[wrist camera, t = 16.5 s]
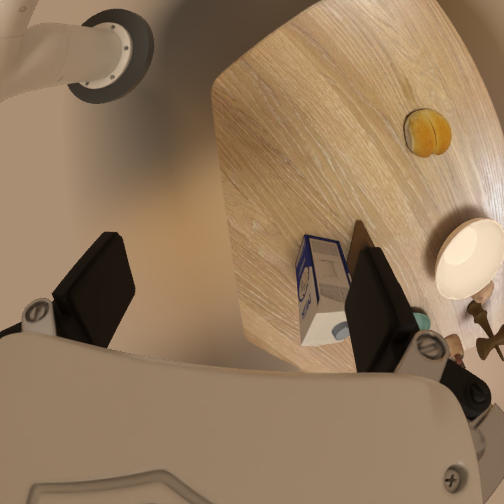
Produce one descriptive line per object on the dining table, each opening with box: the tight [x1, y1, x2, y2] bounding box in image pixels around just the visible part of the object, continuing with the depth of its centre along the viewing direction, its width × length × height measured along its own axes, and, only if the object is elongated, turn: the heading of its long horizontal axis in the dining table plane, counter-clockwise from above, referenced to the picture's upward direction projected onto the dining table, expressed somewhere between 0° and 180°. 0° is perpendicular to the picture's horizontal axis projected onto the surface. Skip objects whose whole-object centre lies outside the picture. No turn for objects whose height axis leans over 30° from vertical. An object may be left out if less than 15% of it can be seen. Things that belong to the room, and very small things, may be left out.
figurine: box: [445, 335, 466, 368], centre depth 61 cm, size 7×7×12 cm
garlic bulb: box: [471, 280, 494, 305], centre depth 51 cm, size 7×6×8 cm
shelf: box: [347, 220, 375, 280], centre depth 48 cm, size 10×13×10 cm
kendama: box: [467, 301, 504, 361], centre depth 50 cm, size 6×10×20 cm, turn 120°
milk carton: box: [296, 235, 352, 346], centre depth 45 cm, size 7×7×20 cm
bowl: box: [435, 217, 504, 300], centre depth 46 cm, size 20×20×7 cm
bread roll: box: [405, 109, 452, 157], centre depth 36 cm, size 8×9×4 cm
